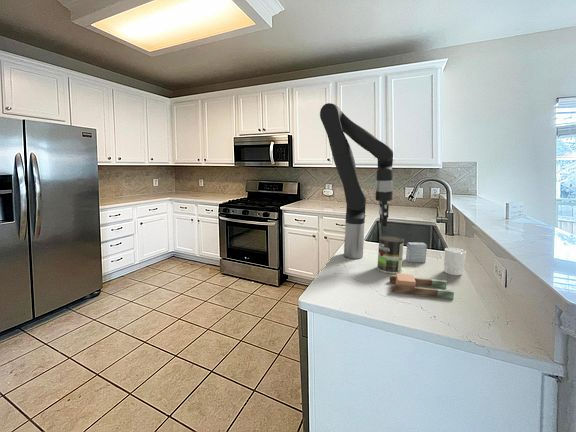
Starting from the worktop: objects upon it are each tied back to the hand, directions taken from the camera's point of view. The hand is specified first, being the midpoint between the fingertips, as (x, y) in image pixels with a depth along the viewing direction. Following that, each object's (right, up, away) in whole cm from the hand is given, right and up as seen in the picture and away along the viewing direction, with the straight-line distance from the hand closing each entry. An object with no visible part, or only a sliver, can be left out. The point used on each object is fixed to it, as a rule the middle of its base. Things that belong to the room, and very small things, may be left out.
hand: (383, 224), depth 136 cm
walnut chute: (+3, -23, -30) cm, 38 cm away
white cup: (+25, -21, -14) cm, 35 cm away
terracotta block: (-2, -23, -29) cm, 37 cm away
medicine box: (+16, -18, +1) cm, 24 cm away
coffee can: (-1, -20, -10) cm, 22 cm away
